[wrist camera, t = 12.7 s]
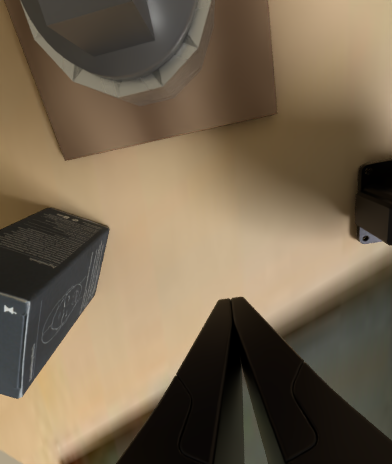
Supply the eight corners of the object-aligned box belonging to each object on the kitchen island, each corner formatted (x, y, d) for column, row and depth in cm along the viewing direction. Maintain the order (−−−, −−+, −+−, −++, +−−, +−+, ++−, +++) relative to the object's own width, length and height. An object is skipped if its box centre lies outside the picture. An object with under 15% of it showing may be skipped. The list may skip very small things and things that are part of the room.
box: (48, 205, 21) (-89, 266, 12) (111, 226, 22) (31, 302, 12) (39, 278, 24) (-77, 377, 14) (95, 296, 25) (20, 403, 15)
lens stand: (249, -176, 13) (252, -194, 12) (274, 114, 18) (277, 113, 17) (-18, -78, 15) (-30, -89, 14) (70, 159, 20) (65, 160, 19)
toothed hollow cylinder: (194, -104, 14) (188, -210, 9) (222, 86, 17) (227, 70, 13) (41, -52, 15) (-26, -126, 10) (95, 117, 18) (60, 112, 14)
